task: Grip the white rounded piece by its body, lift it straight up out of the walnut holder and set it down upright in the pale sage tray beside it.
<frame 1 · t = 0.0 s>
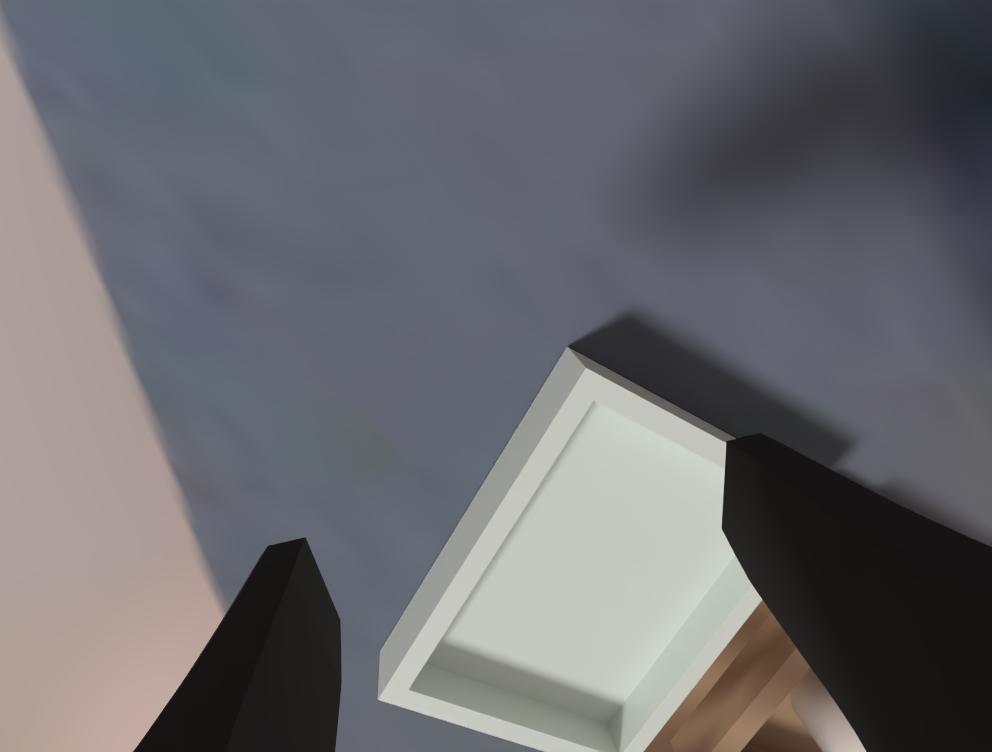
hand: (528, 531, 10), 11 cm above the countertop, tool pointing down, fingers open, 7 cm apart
holder: (831, 664, 27), on the countertop
tray: (589, 561, 24), on the countertop
white rounded piece: (846, 682, 26), point 1 cm above the countertop, touching holder
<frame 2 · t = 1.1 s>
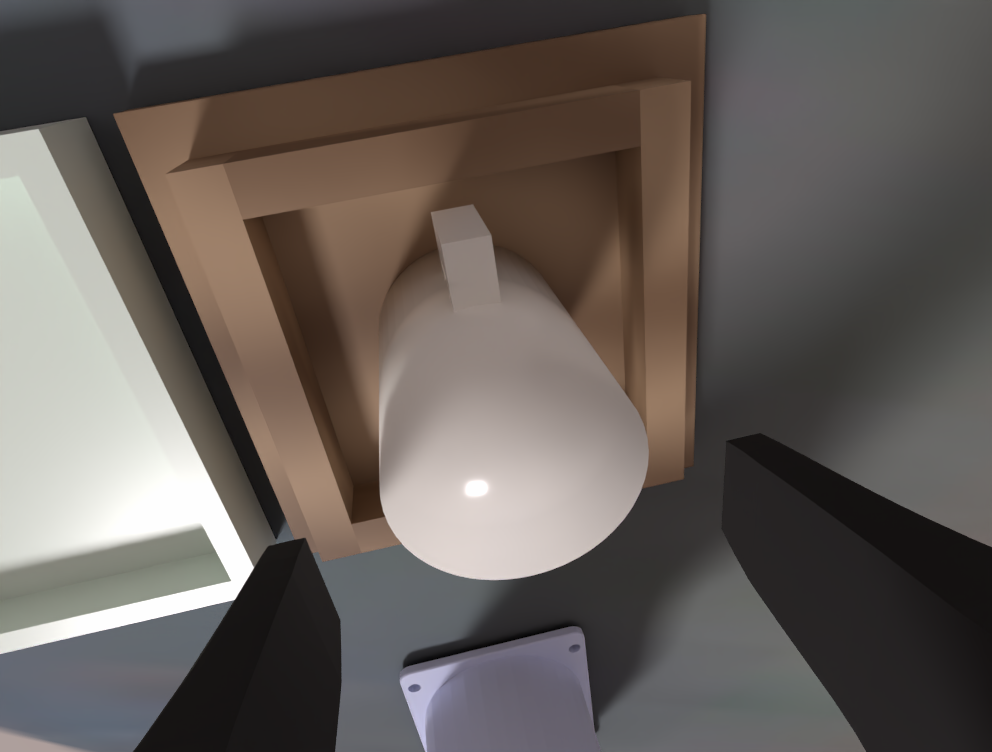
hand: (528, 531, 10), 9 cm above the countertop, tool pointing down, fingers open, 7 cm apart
holder: (465, 316, 18), on the countertop
tray: (6, 409, 17), on the countertop
white rounded piece: (469, 330, 18), point 1 cm above the countertop, touching holder
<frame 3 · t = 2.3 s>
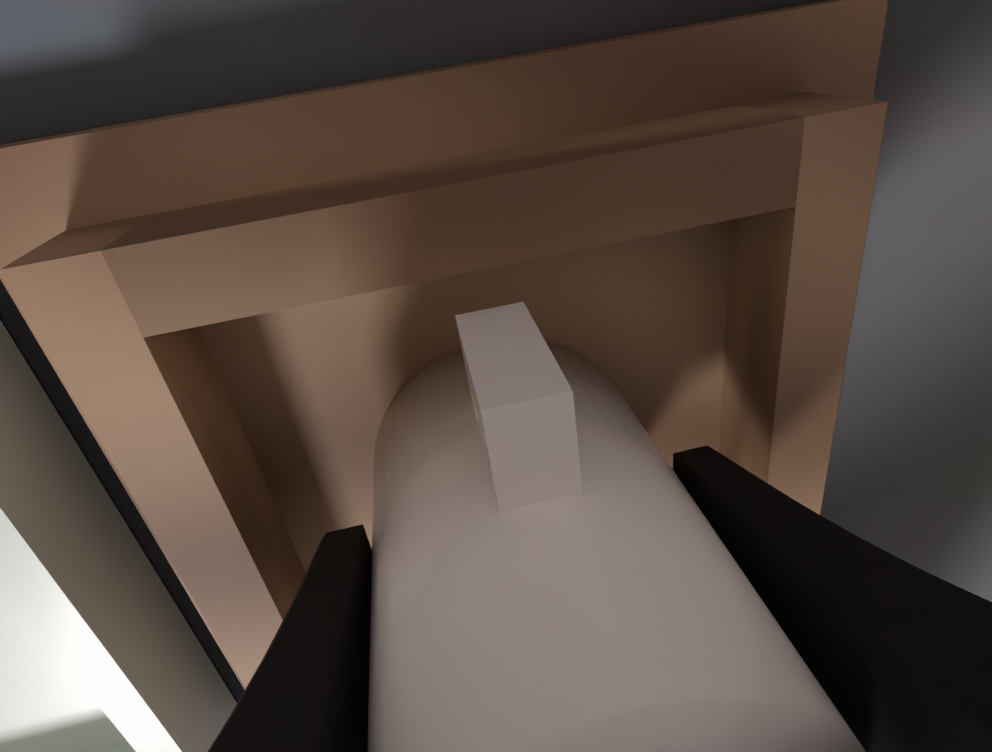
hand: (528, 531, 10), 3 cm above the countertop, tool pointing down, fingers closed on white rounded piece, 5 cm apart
holder: (496, 428, 13), on the countertop
white rounded piece: (505, 455, 12), point 1 cm above the countertop, touching gripper, holder
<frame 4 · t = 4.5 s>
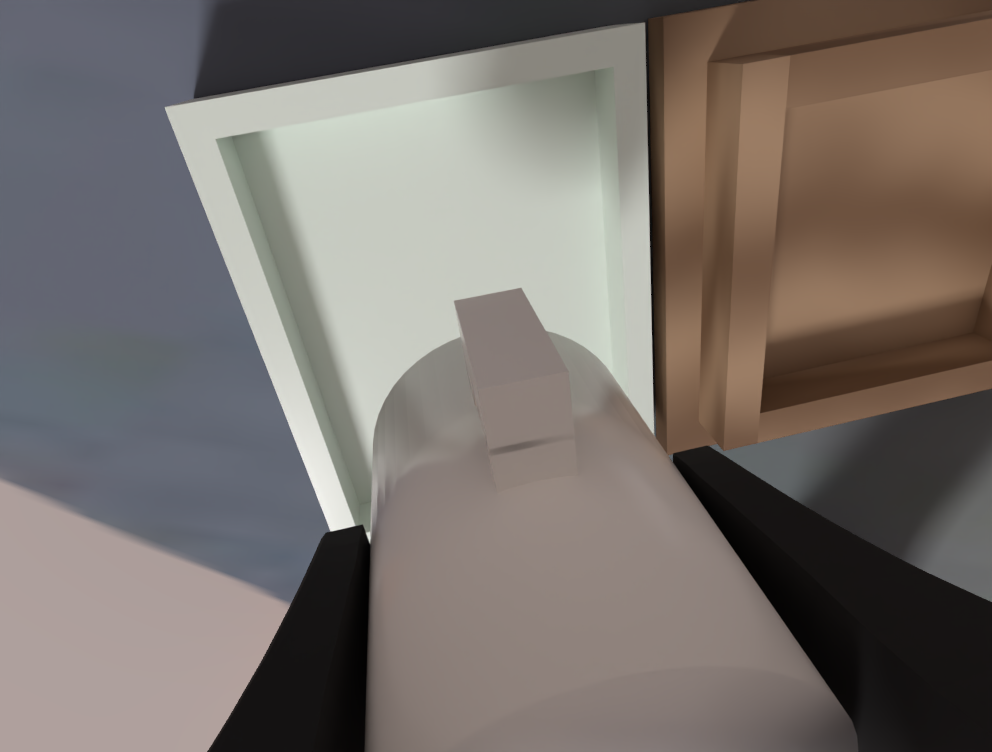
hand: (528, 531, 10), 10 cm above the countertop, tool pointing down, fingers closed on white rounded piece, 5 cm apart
holder: (854, 225, 20), on the countertop
tray: (456, 307, 19), on the countertop
white rounded piece: (503, 444, 12), point 8 cm above the countertop, touching gripper
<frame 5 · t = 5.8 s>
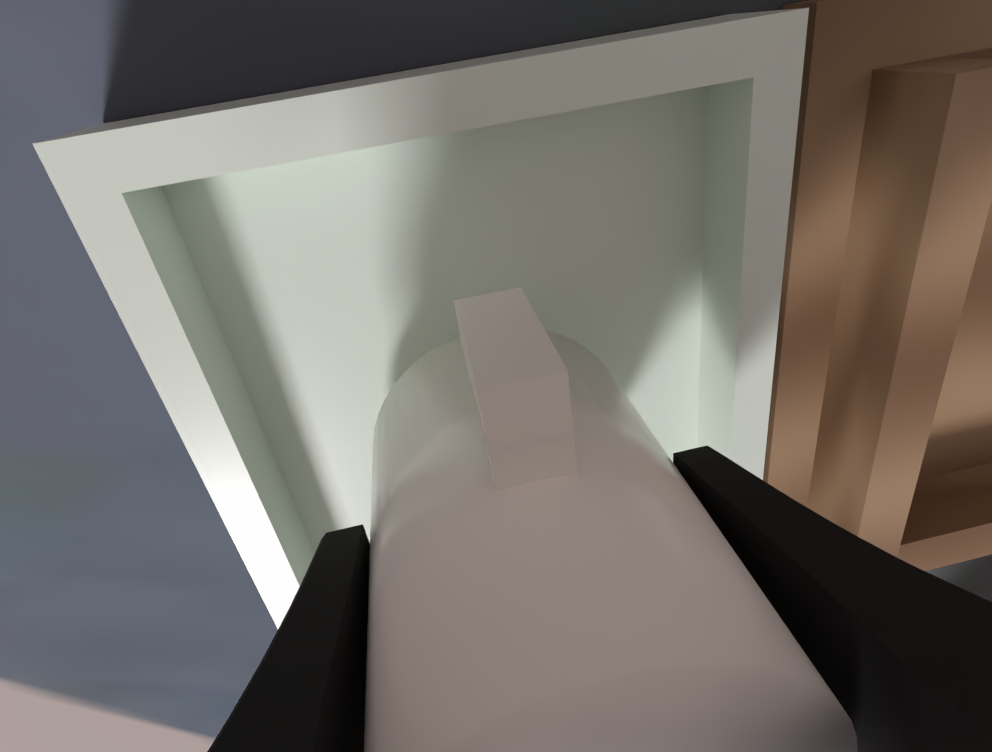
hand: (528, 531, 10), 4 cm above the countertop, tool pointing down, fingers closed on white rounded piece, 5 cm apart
tray: (489, 404, 14), on the countertop
white rounded piece: (502, 444, 12), point 2 cm above the countertop, touching gripper
when the fingers open (4 cm above the countertop, at t = 6.6 s): white rounded piece stays where it is, resting on tray.
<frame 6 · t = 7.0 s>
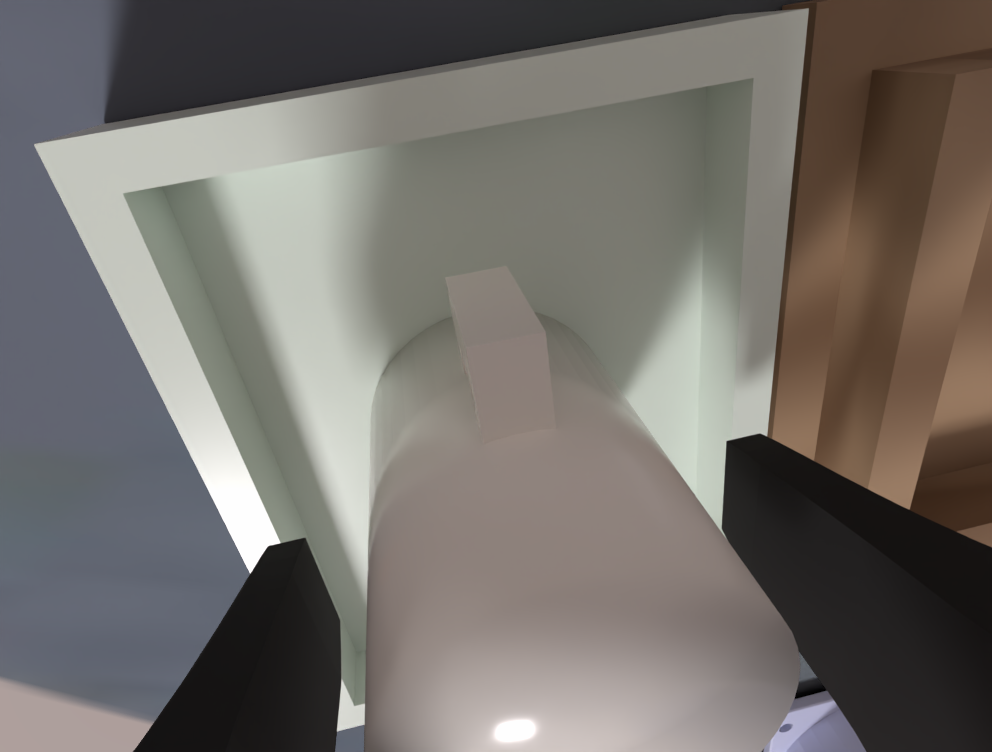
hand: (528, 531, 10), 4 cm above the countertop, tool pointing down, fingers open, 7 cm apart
tray: (489, 404, 14), on the countertop
white rounded piece: (492, 419, 13), point 1 cm above the countertop, touching tray
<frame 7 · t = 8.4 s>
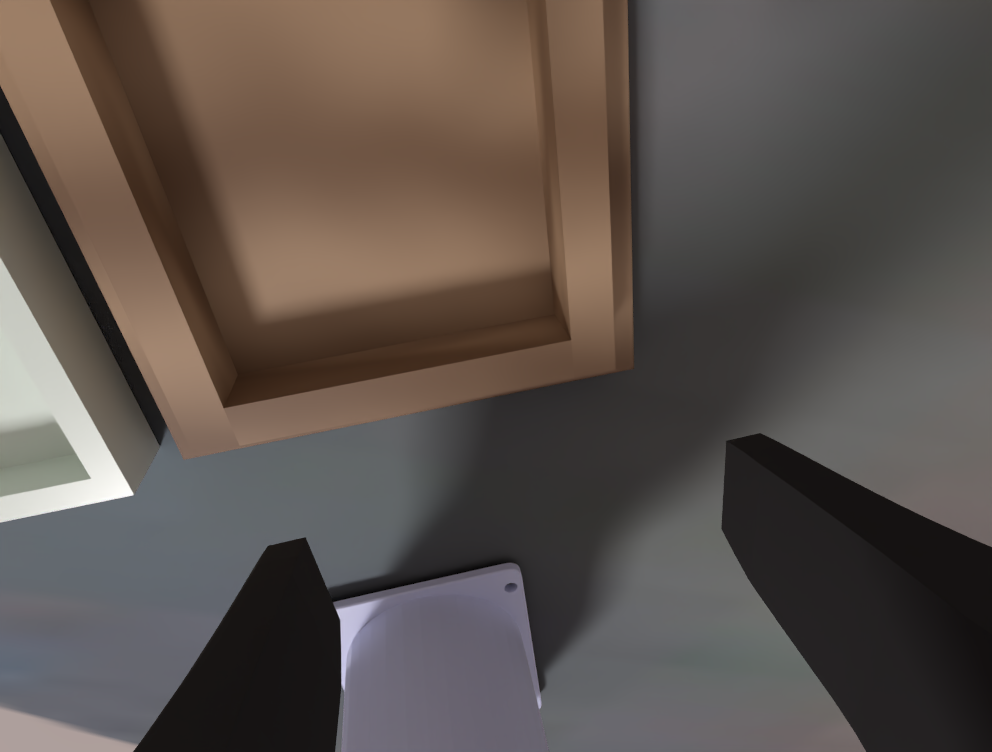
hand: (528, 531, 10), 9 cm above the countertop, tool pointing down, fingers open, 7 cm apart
holder: (362, 173, 16), on the countertop
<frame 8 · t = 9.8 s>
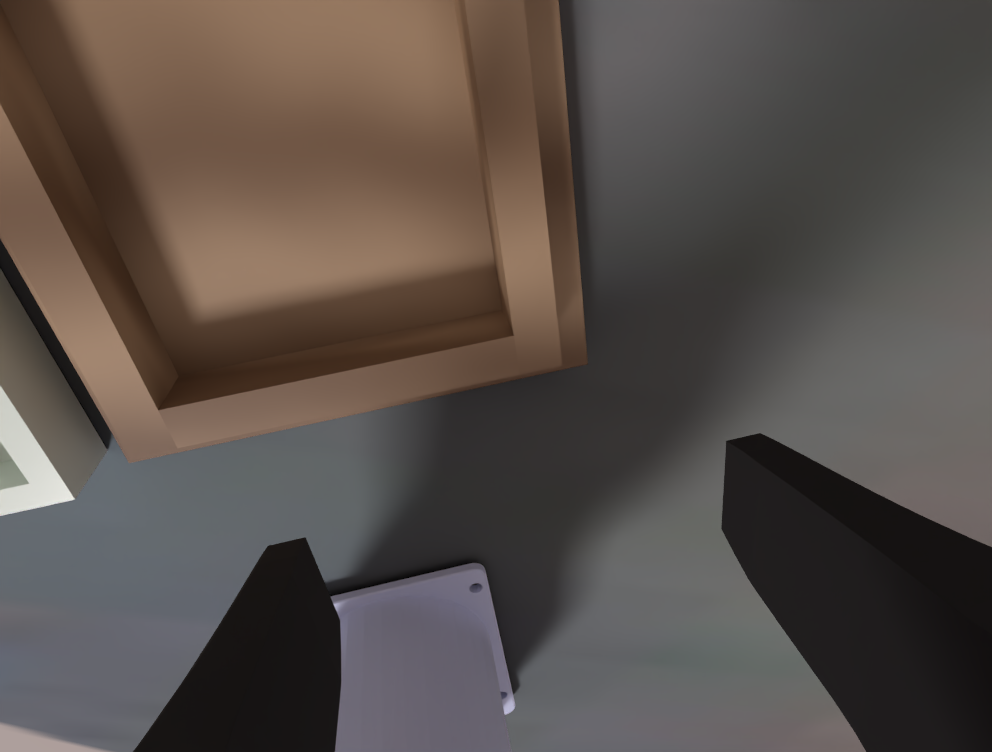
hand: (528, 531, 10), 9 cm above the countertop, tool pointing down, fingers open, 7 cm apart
holder: (297, 169, 16), on the countertop
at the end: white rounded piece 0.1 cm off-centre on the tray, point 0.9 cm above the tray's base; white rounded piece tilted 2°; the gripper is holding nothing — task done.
